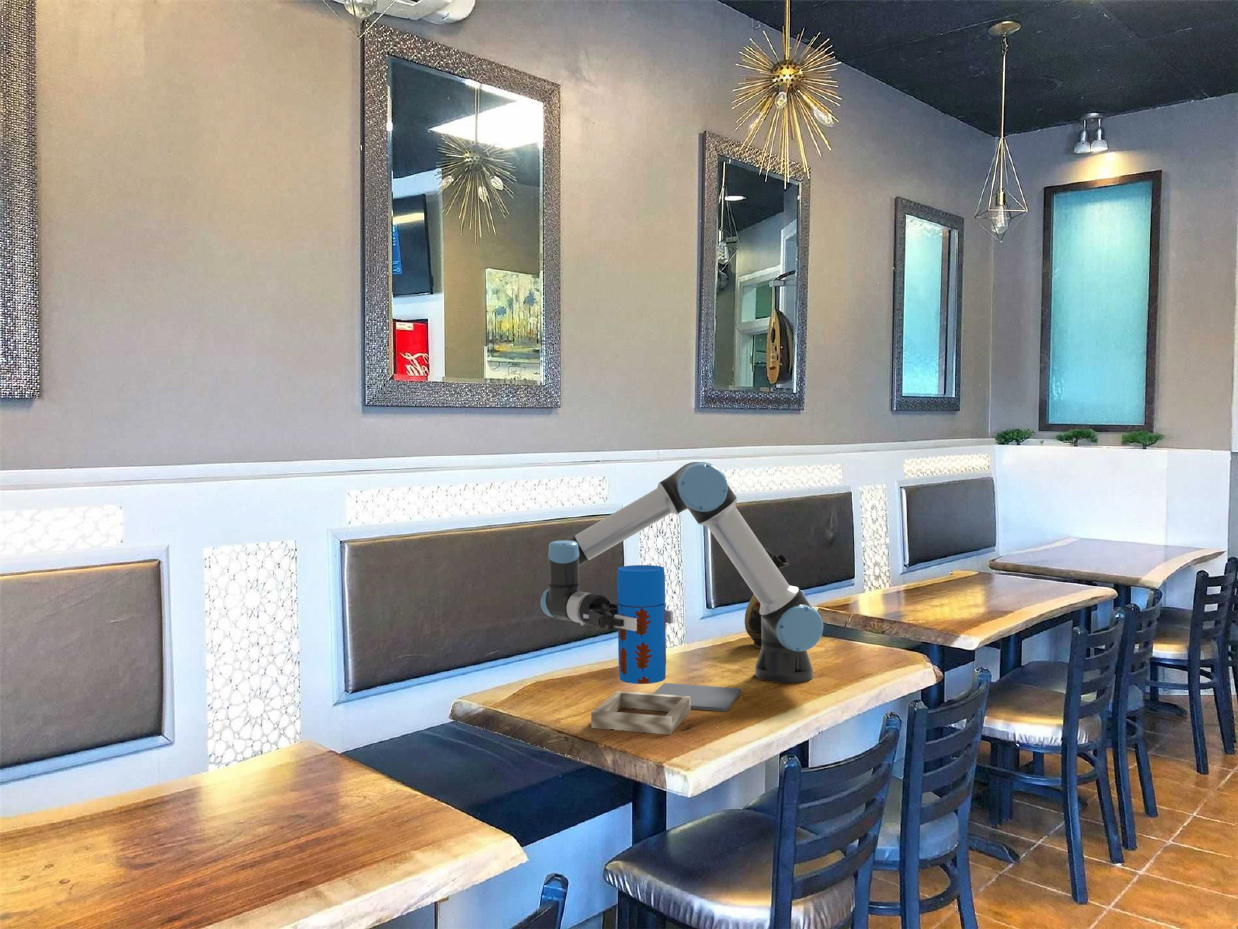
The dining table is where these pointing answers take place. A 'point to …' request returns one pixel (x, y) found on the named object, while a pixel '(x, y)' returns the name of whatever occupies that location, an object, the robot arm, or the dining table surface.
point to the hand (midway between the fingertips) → (654, 621)
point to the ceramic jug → (754, 606)
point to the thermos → (642, 624)
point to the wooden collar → (611, 719)
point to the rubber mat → (703, 695)
